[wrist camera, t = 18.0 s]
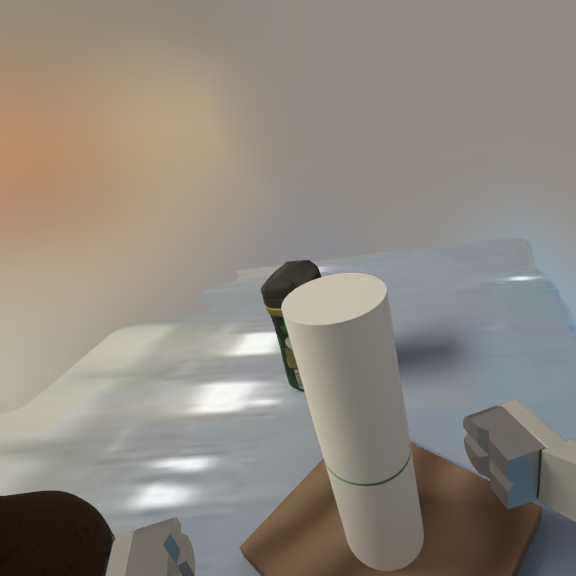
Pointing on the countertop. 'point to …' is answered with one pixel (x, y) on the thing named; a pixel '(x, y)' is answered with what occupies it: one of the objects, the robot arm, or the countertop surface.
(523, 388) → the countertop surface
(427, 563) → the board
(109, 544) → the olive oil
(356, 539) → the cylindrical container
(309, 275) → the coffee jar
